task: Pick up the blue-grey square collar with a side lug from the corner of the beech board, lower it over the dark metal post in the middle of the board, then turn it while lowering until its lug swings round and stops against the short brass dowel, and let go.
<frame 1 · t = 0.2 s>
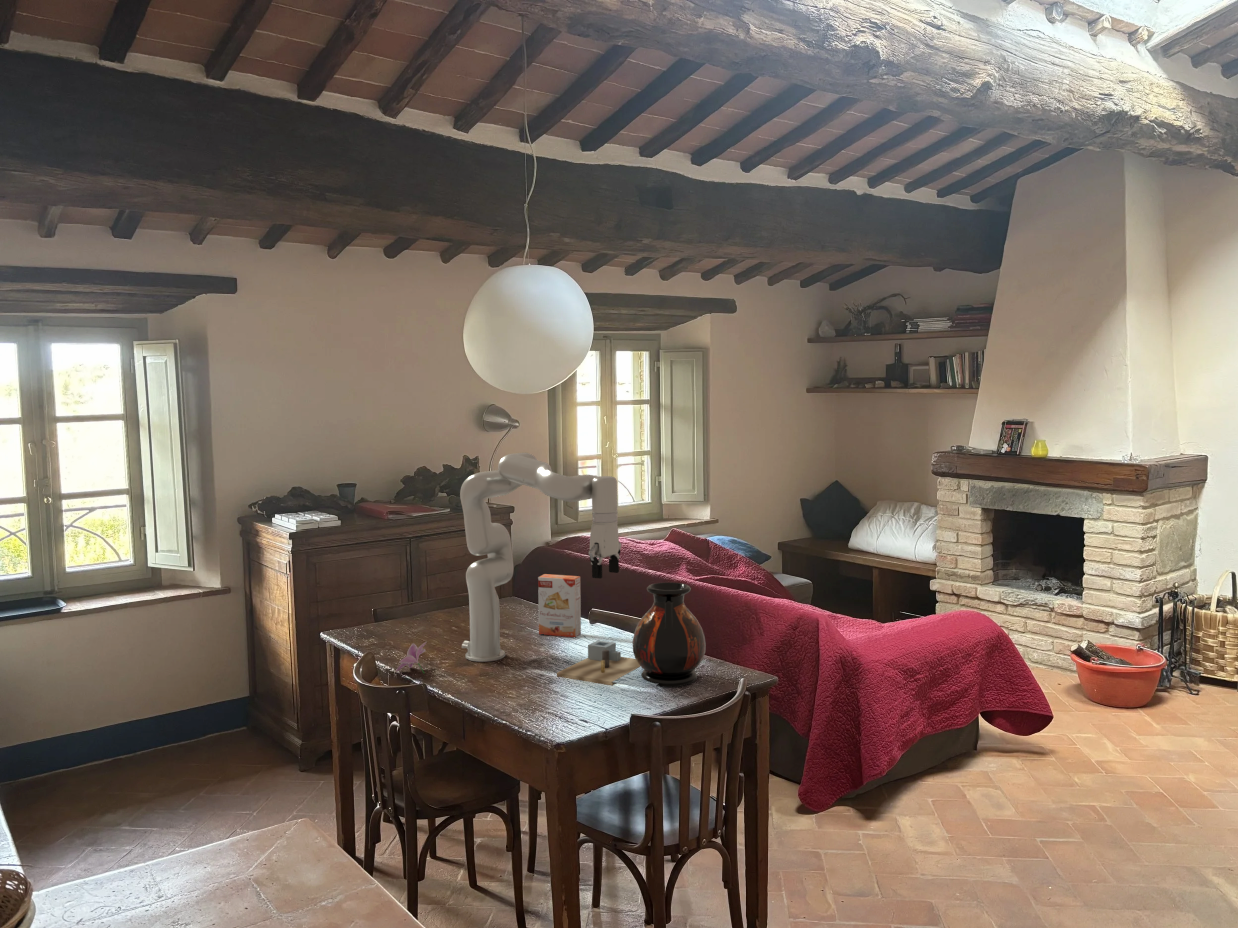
hand: (605, 575, 276), 31 cm above the table, tool pointing down, fingers open, 9 cm apart
post base: (605, 670, 284), on the table
lily: (413, 672, 284), on the table
cracker box: (559, 635, 327), on the table
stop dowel: (602, 675, 278), resting on post base
amphora vase: (669, 680, 274), on the table
flange collar: (614, 659, 291), point 1 cm above the table, touching post base
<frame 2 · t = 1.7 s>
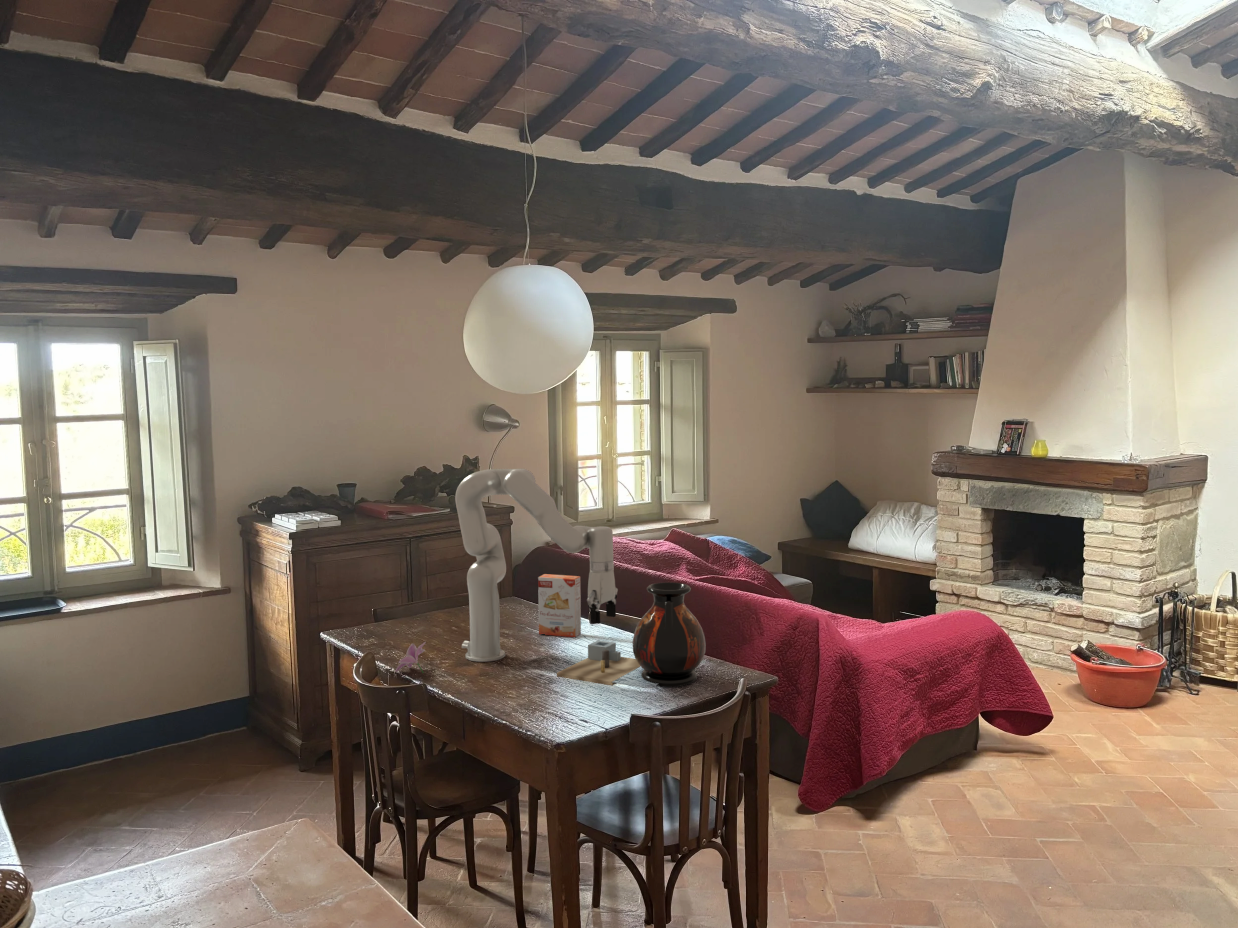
hand: (603, 619, 292), 13 cm above the table, tool pointing down, fingers open, 9 cm apart
nothing on the table moved.
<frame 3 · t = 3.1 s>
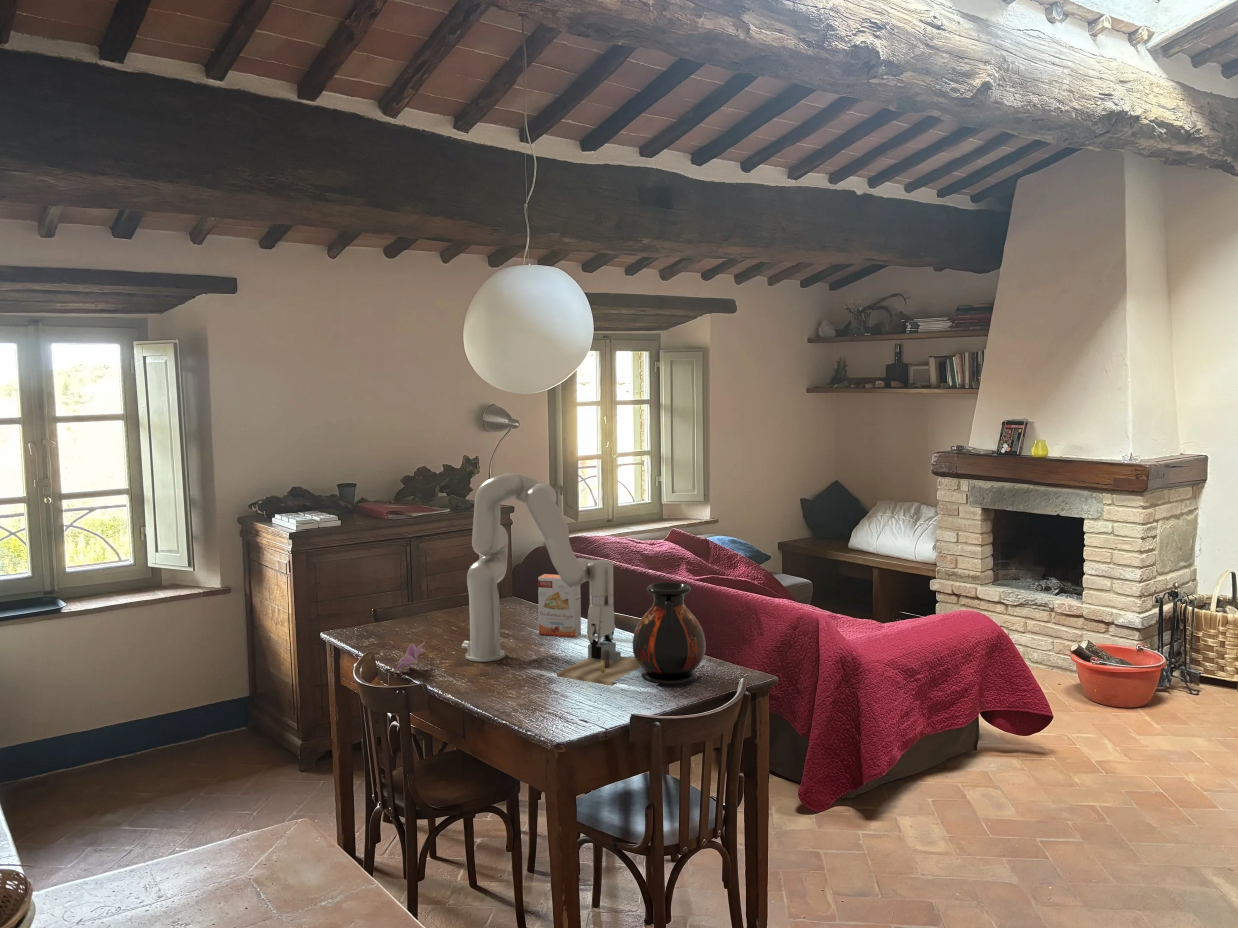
hand: (601, 655, 293), 2 cm above the table, tool pointing down, fingers closed on flange collar, 6 cm apart
flange collar: (614, 659, 291), point 1 cm above the table, touching gripper, post base
everything else where it was.
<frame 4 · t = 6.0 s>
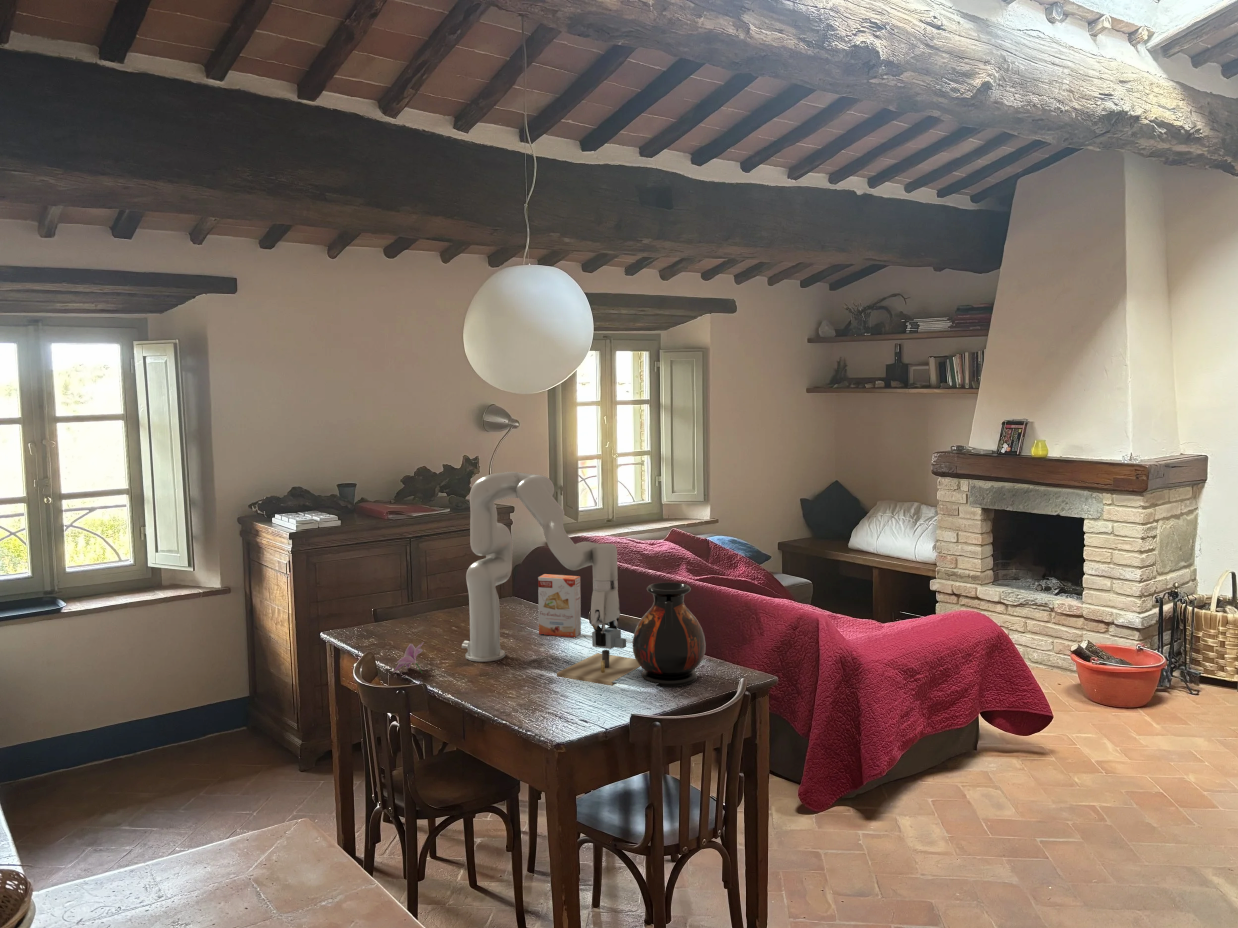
hand: (606, 642, 283), 9 cm above the table, tool pointing down, fingers closed on flange collar, 6 cm apart
flange collar: (620, 646, 280), point 8 cm above the table, touching gripper
everything else where it was.
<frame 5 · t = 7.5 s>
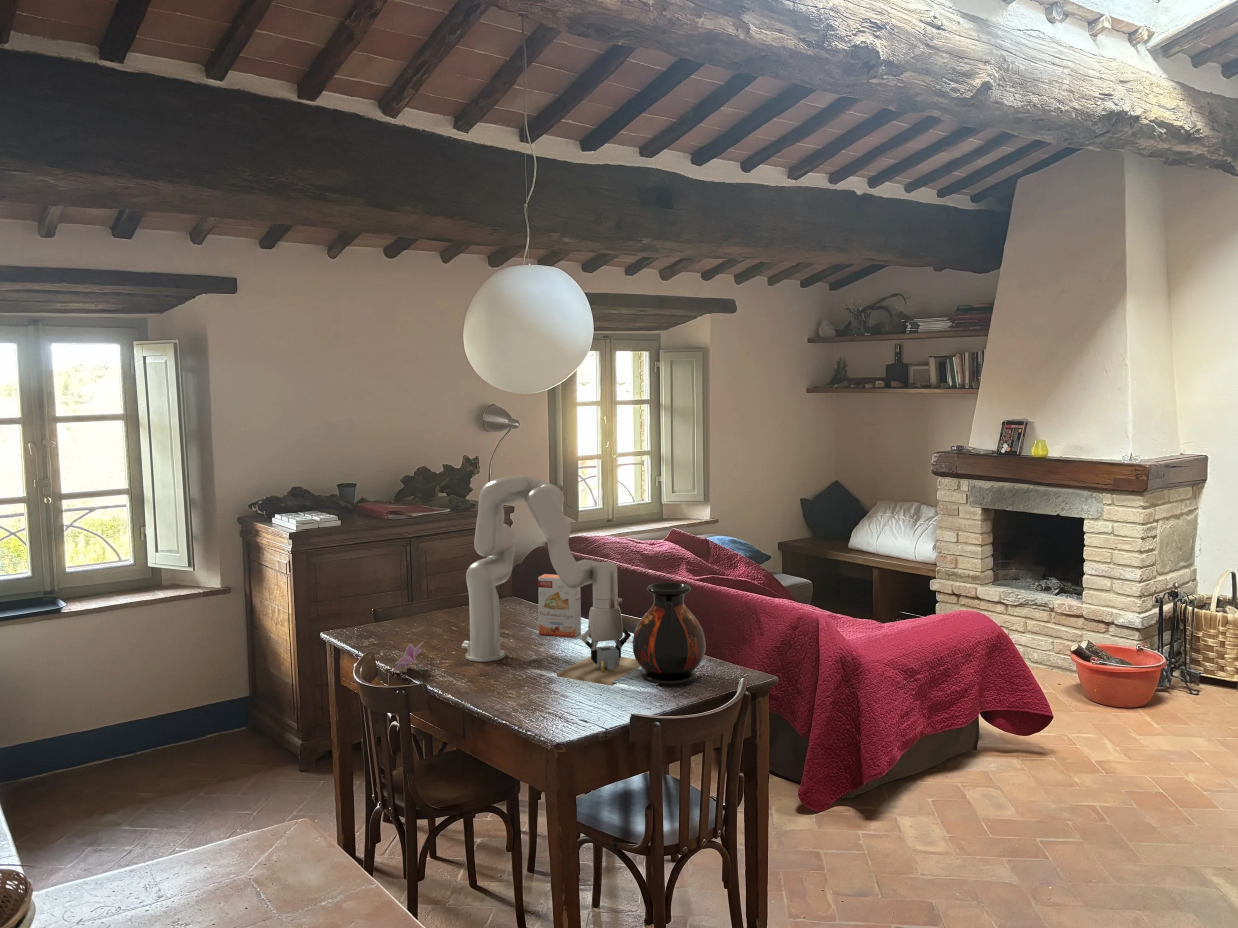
hand: (606, 660, 283), 3 cm above the table, tool pointing down, fingers closed on flange collar, 6 cm apart
flange collar: (610, 667, 279), point 2 cm above the table, touching gripper
everything else where it was.
when the fingers open (2 cm above the table, at t = 9.0 s): flange collar stays where it is, resting on post base.
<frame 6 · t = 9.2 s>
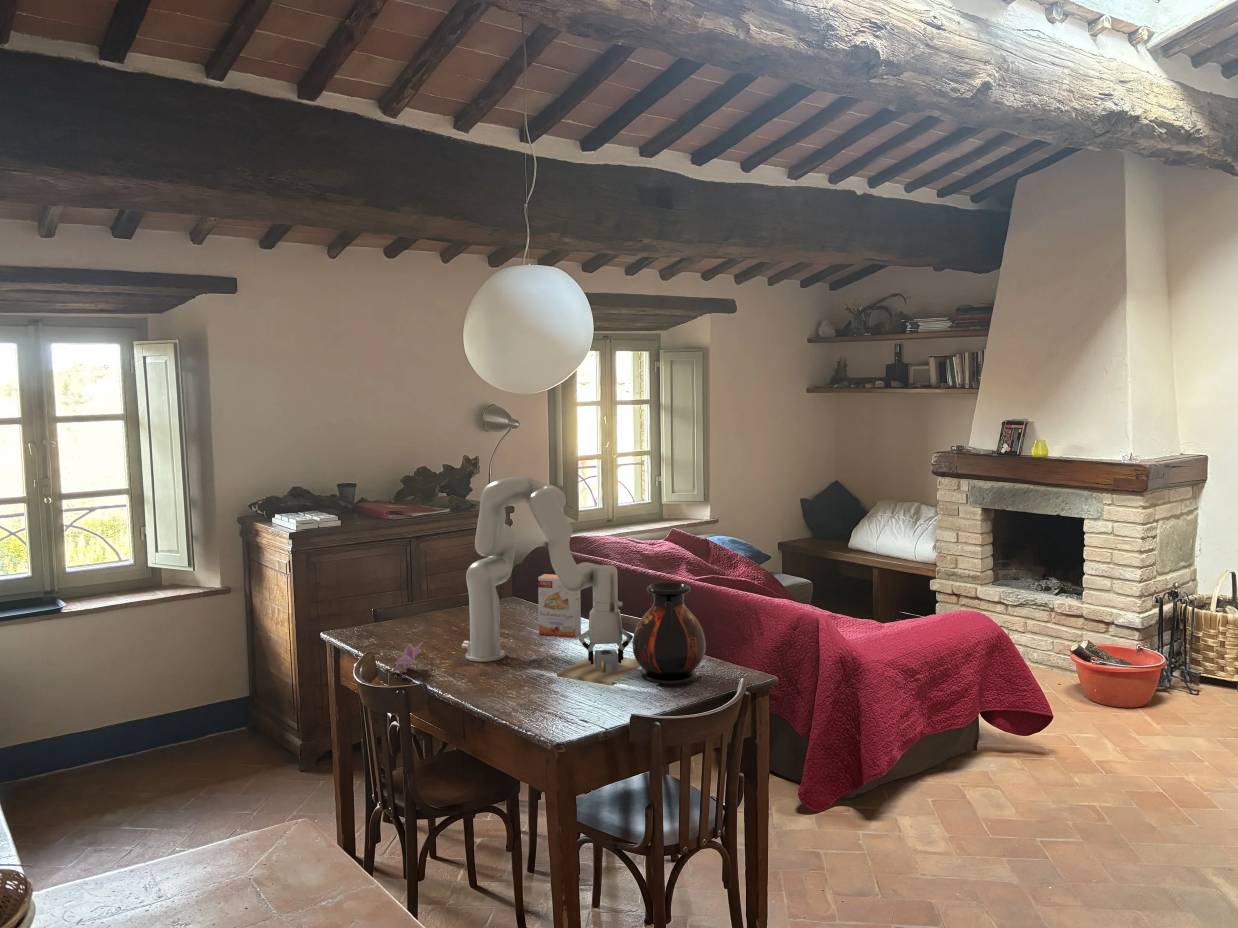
hand: (605, 662, 283), 3 cm above the table, tool pointing down, fingers open, 8 cm apart
flange collar: (608, 671, 279), point 1 cm above the table, touching post base
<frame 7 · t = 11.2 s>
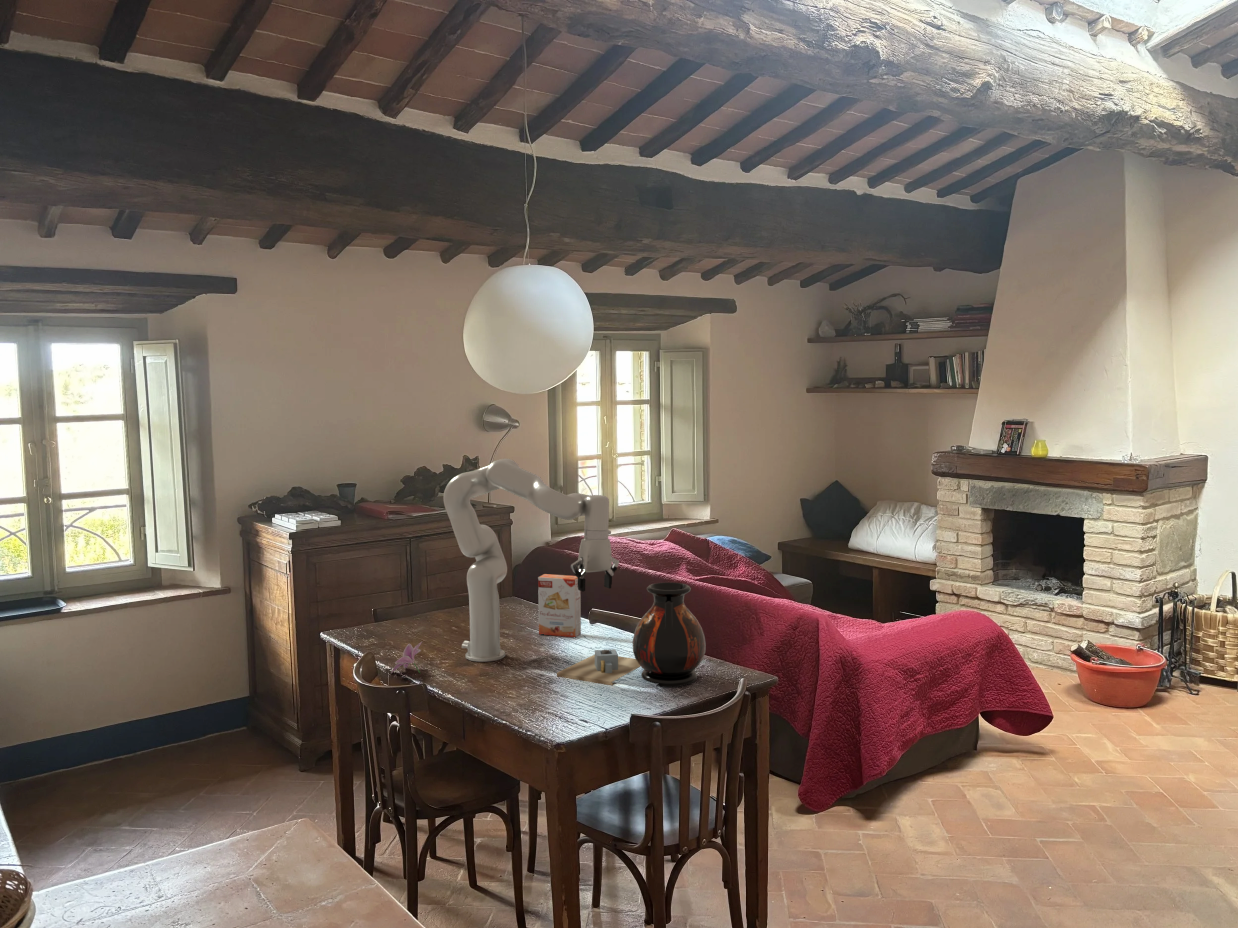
hand: (594, 589, 290), 23 cm above the table, tool pointing down, fingers open, 9 cm apart
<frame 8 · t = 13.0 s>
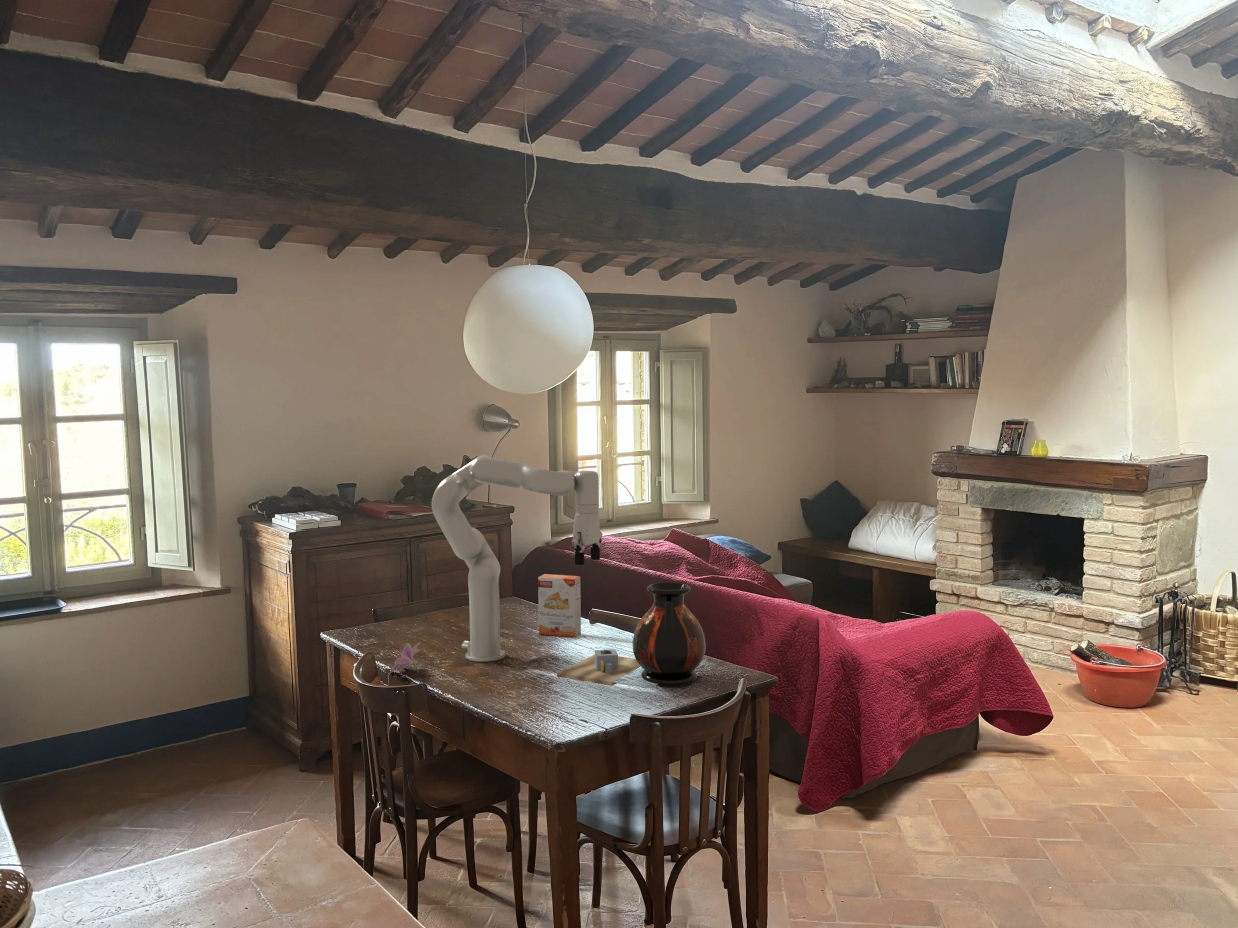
hand: (587, 562, 299), 30 cm above the table, tool pointing down, fingers open, 9 cm apart
at the end: flange collar 0.3 cm from the target spot on the post base, point 1.2 cm above the post base's base; flange collar 1.7 cm from the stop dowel (horizontally); flange collar tilted 0° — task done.
